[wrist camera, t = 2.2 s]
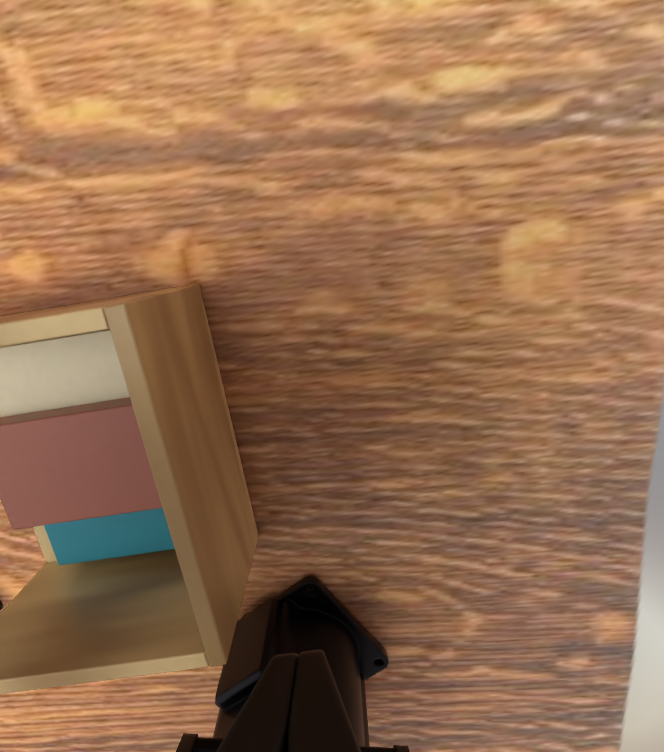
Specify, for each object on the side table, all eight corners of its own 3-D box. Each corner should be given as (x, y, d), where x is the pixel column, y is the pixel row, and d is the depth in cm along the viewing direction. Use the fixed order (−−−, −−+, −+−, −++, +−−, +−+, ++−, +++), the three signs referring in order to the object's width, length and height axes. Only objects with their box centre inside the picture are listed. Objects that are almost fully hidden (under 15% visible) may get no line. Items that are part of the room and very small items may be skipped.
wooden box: (199, 283, 18) (124, 303, 12) (259, 536, 22) (226, 665, 15) (-36, 322, 19) (-239, 363, 12) (57, 564, 22) (-63, 703, 15)
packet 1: (165, 317, 18) (154, 322, 17) (191, 419, 19) (183, 429, 18) (-2, 345, 19) (-24, 351, 17) (34, 443, 20) (16, 455, 19)
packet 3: (197, 440, 20) (188, 452, 19) (220, 528, 21) (213, 544, 20) (41, 464, 20) (24, 477, 19) (73, 549, 21) (58, 566, 20)
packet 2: (164, 391, 18) (153, 401, 17) (192, 490, 19) (182, 505, 18) (-6, 417, 18) (-29, 429, 17) (31, 513, 19) (12, 530, 18)
